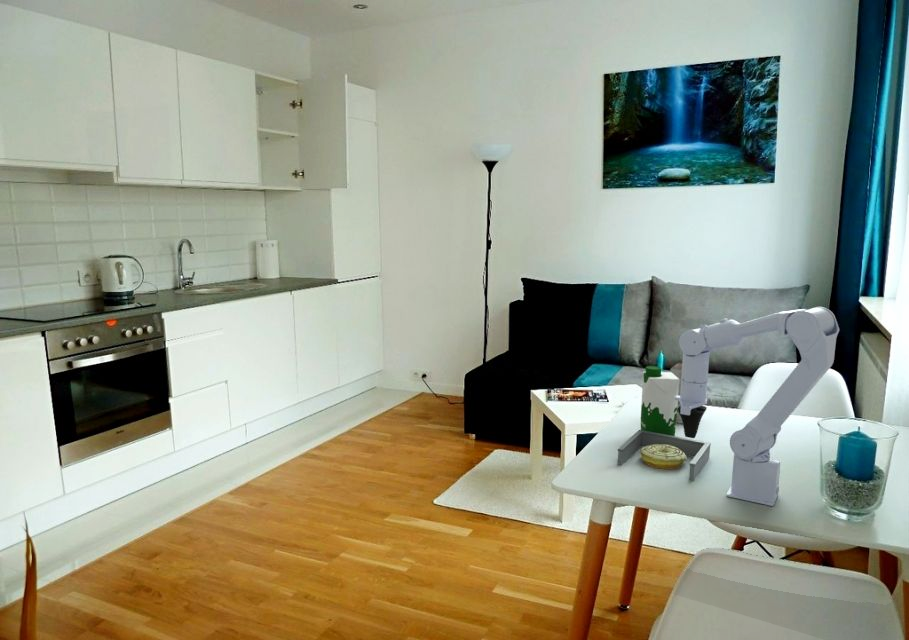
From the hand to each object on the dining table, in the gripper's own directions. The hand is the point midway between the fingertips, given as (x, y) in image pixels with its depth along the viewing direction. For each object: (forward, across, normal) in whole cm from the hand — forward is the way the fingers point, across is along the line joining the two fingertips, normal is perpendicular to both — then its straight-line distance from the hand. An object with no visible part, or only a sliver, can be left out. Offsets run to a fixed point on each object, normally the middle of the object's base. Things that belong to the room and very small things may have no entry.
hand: (690, 436), depth 159 cm
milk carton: (+10, -21, -13) cm, 26 cm away
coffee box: (+10, -43, -12) cm, 46 cm away
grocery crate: (+9, -5, -7) cm, 13 cm away
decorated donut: (+10, -5, -7) cm, 13 cm away
